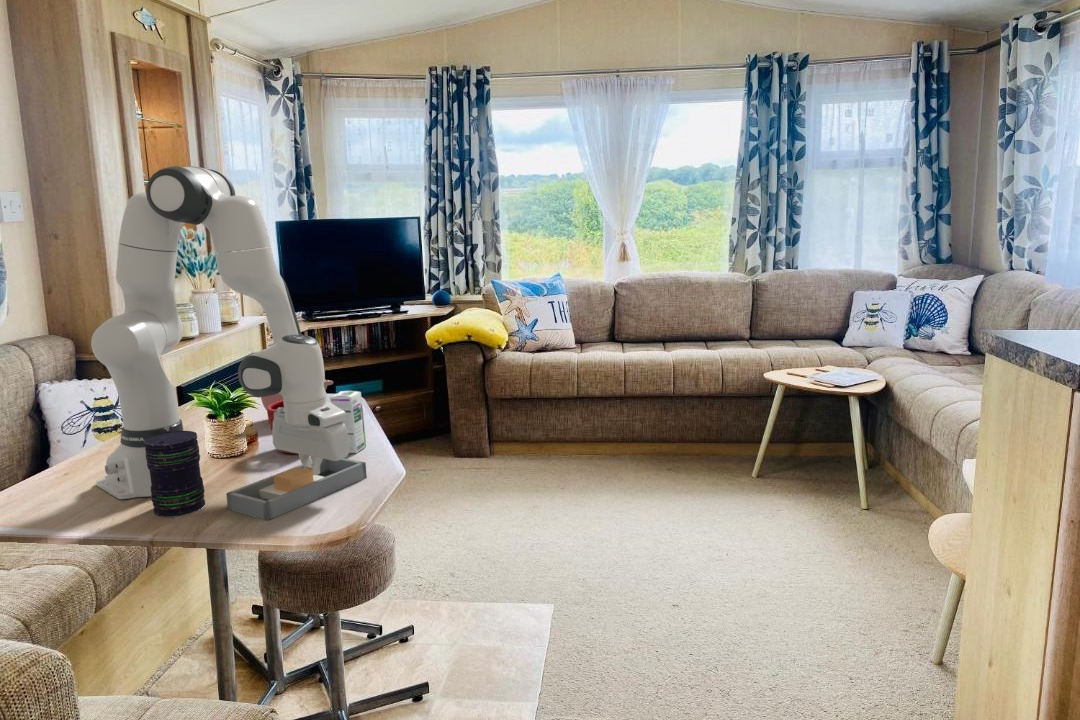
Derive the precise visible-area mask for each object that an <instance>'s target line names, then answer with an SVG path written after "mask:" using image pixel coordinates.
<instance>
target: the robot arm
mask: <svg viewBox="0 0 1080 720" xmlns="http://www.w3.org/2000/svg"><path fill="white" fill-rule="evenodd" d="M145 189H146V191H143V192H138V193H136V194H134V195H132V196H131V197H130V198H129V199H128V201H127V203H126V207H125V208H124V213H123V215H122V221H121V225H120V230H119V236H118V237H119V238H118V250H117V260H116V271H115V279H116V282H117V284H118V285H119V287H120V289H121V292H122V295H123V296H122V297H123V302H124V312H123V313H122V314H118V315H115V316H112V317H110V318H108V319H106V321H104V322H103V323H102V324H101V325H99V326H98V327H97V328H96V329H95V331H93V334H92V336H91V340H90V345H91V350H92V352H93V355H94V357H95V358H96V359H97V361H99V362H100V363H101V364H102V365H104V366H105V367H106V369H107V371H108V372H109V375H110V376H111V379H112V381H113V384H114V386H115V388H116V391H117V395H118V396H117V397H118V400H119V405H120V411H121V417H122V418H121V420H122V424H123V425H122V427H119V428H117V429H118V430H120V431H118V434H120V442H119V443H120V444H119V445H118V446H117V447H116V449H114V450H113V451H112V453H110V455H109V456H107V458H106V460H105V465H104V472H105V473H106V475H105V476H103V477H100V478H99V479H97V480H96V481H95V484H96V486H97V487H98V488H100V489H102V490H103V491H104V492H106V493H108V494H109V495H111V496H113V497H114V498H116V499H117V500H126V499H127V500H128V499H134V498H142V497H143V498H145V497H151V488H150V487H151V478H150V470H149V469H148V466H147V460H146V455H145V454H146V451H145V448H146V446H145V444H144V441H145V439H147V438H149V437H151V436H154V435H157V434H161V433H166V432H172V431H184V425H183V422H182V421H183V420H182V419H181V418H180V414H179V413H180V411H179V406H178V405H179V404H178V396H177V389H176V386H175V384H174V382H173V381H171V380H170V379H169V377H168V375H167V373H166V371H165V369H164V366H163V363H162V358H161V357H162V356H164V355H166V354H168V353H170V352H171V351H172V350H174V348H175V347H176V346H177V345H178V344H179V343H180V341H181V340H182V338H183V336H184V324H183V321H182V320H181V318H180V316H179V314H178V307H177V298H176V290H175V287H176V285H175V284H176V283H175V282H176V271H177V261H178V251H179V238H180V232H181V229H182V228H183V226H184V225H185V224H189V225H195V226H198V225H203V226H204V227H205V228H207V230H208V232H209V234H210V236H211V240H212V244H213V251H214V255H215V262H216V266H217V270H218V273H219V275H220V277H221V280H222V281H223V283H224V284H225V285H226V286H227V287H228V288H229V289H231V290H233V291H234V292H236V293H238V294H241V295H244V296H247V297H249V298H251V299H253V300H255V301H256V302H257V303H259V305H260V306H261V307H262V309H263V311H264V314H265V317H266V321H267V323H268V327H269V329H270V333H271V337H272V339H273V345H271V346H269V347H267V348H265V349H261V350H259V351H256V352H254V353H252V354H249V355H248V356H246V357H244V358H243V359H242V360H241V361H240V363H239V366H238V369H237V370H238V371H237V372H238V374H237V377H238V381H239V383H240V385H241V387H242V389H243V390H244V392H245V393H247V394H248V395H250V396H252V397H253V398H254V397H255V398H261V397H268V396H271V395H275V394H280V395H282V396H283V402H284V408H283V407H279V408H278V409H276V411H275V412H274V420H273V427H272V430H271V433H272V444H273V446H274V448H275V449H276V450H278V449H279V450H284V451H289V452H294V453H297V454H298V458H299V460H300V462H301V463H302V464H303V466H304V469H308V470H313V475H318V474H320V465H321V462H322V460H323V459H327V460H332V461H338V460H341V459H343V458H345V459H347V457H348V456H349V455H350V454H349V439H348V432H347V428H346V426H345V424H344V423H343V422H342V421H344V420H346V413H345V411H343V410H342V409H340V408H338V407H337V406H335V405H334V404H332V403H331V402H330V400H328V397H327V396H328V395H327V392H326V390H325V389H324V378H325V377H326V375H325V374H326V373H325V372H326V371H325V364H324V358H323V351H322V349H321V346H320V343H319V342H318V341H317V339H315V338H314V337H312V336H309V335H306V334H305V335H304V334H303V333H302V332H301V331H302V330H301V327H300V325H299V321H298V318H297V314H296V310H295V308H294V304H293V300H292V298H291V294H290V292H289V288H288V286H287V283H286V281H285V280H284V278H283V277H282V275H281V273H280V272H279V269H278V268H277V264H276V263H275V262H276V261H275V258H274V254H273V251H272V245H271V240H270V237H269V233H268V229H267V226H266V225H267V224H266V222H265V220H264V217H263V214H262V212H261V209H260V206H259V205H258V204H257V201H255V200H253V199H252V198H250V197H247V196H242V195H236V191H235V188H234V185H233V183H232V182H231V180H230V179H228V177H227V176H225V175H224V174H223V173H221V172H218V171H217V170H214V169H208V168H204V167H201V166H200V167H199V166H194V165H193V166H192V165H190V166H178V165H177V166H176V165H175V166H168V167H163V168H161V169H159V170H157V171H156V172H154V173H153V174H152V175H151V177H150V178H148V181H147V185H146V188H145ZM325 379H326V378H325ZM279 450H278V451H279ZM294 453H293V454H294ZM312 461H313V463H312ZM302 464H301V465H302Z"/></svg>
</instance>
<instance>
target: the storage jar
mask: <svg viewBox="0 0 1080 720" xmlns="http://www.w3.org/2000/svg"><path fill="white" fill-rule="evenodd" d="M144 444H145V446H146V448H145V451H146V454H145V455H146V460H147V466H148V469H149V470H150V478H151V487H150V488H151V496H150V498H151V501H152V506H153V514H154V515H155V516H156V517H161V518H174V516H177V517H181V515H182V516H187V515H189V514H193V513H196V512H198V511H200V510H202V509H203V508H204V507H205V506H206V500H205V486H204V481H203V477H202V475H201V466H200V461H201V455H200V446H199V442H198V434H197V432H195V431H191V430H183V431H172V432H166V433H161V434H157V435H154V436H151V437H149V438H147V439H145V441H144ZM204 505H205V506H204ZM203 506H204V507H203ZM202 507H203V508H202ZM201 508H202V509H201ZM199 509H200V510H199ZM186 514H187V515H186Z"/></svg>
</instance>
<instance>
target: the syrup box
mask: <svg viewBox="0 0 1080 720" xmlns="http://www.w3.org/2000/svg"><path fill="white" fill-rule="evenodd" d="M329 401H330V402H331V403H332V404H334V405H335V406H337V407H338V408H340V409H342V410H343V411H345V413H346V420H344V421H342V422H343V423H344V424H345V426H346V428H347V432H348V439H349V453H357V454H358V453H359V452H360V451H361V450H363V449H364V448H366V447H367V443H366V442H367V441H366V431H365V422H364V421H365V420H364V411H363V410H364V409H363V400H362V392H361V391H360V390H359V391H358V390H342V391H341V390H340V391H339V392H338V393H336V394H334V395H332V396H330V397H329Z"/></svg>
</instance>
